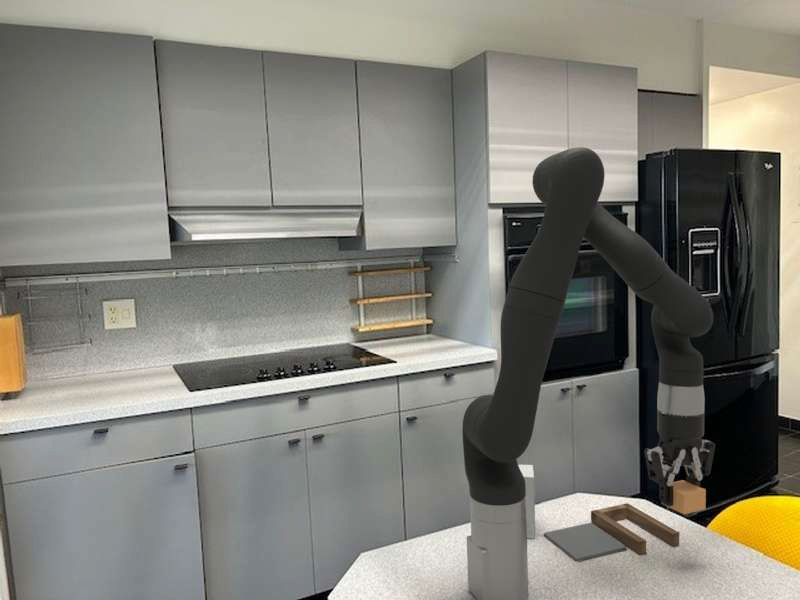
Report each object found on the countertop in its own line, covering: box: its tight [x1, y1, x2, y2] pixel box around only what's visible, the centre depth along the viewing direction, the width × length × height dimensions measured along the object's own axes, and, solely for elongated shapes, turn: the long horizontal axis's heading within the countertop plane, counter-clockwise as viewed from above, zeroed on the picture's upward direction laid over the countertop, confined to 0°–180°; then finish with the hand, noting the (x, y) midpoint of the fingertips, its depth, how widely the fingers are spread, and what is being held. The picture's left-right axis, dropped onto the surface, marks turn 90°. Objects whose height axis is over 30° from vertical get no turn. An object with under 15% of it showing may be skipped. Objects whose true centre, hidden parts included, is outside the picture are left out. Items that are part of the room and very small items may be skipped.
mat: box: [543, 522, 628, 562], centre depth 118 cm, size 11×11×1 cm
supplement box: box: [518, 464, 536, 539], centre depth 124 cm, size 7×7×13 cm
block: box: [660, 479, 707, 515], centre depth 108 cm, size 5×5×4 cm
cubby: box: [590, 502, 680, 556], centre depth 121 cm, size 9×14×2 cm, turn 19°
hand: (679, 501), depth 108 cm, fingers closed on block, 5 cm apart
